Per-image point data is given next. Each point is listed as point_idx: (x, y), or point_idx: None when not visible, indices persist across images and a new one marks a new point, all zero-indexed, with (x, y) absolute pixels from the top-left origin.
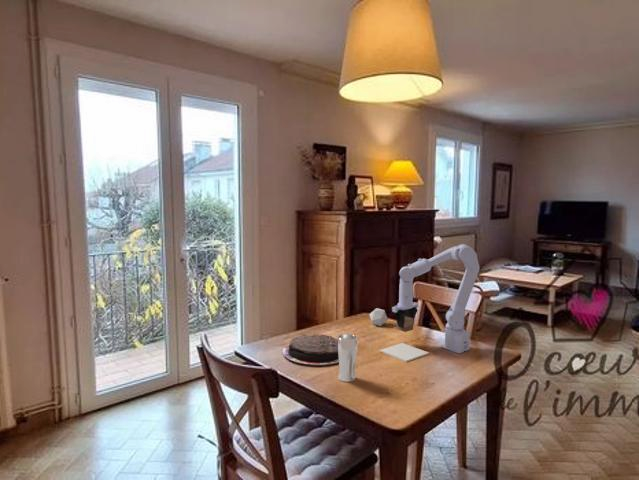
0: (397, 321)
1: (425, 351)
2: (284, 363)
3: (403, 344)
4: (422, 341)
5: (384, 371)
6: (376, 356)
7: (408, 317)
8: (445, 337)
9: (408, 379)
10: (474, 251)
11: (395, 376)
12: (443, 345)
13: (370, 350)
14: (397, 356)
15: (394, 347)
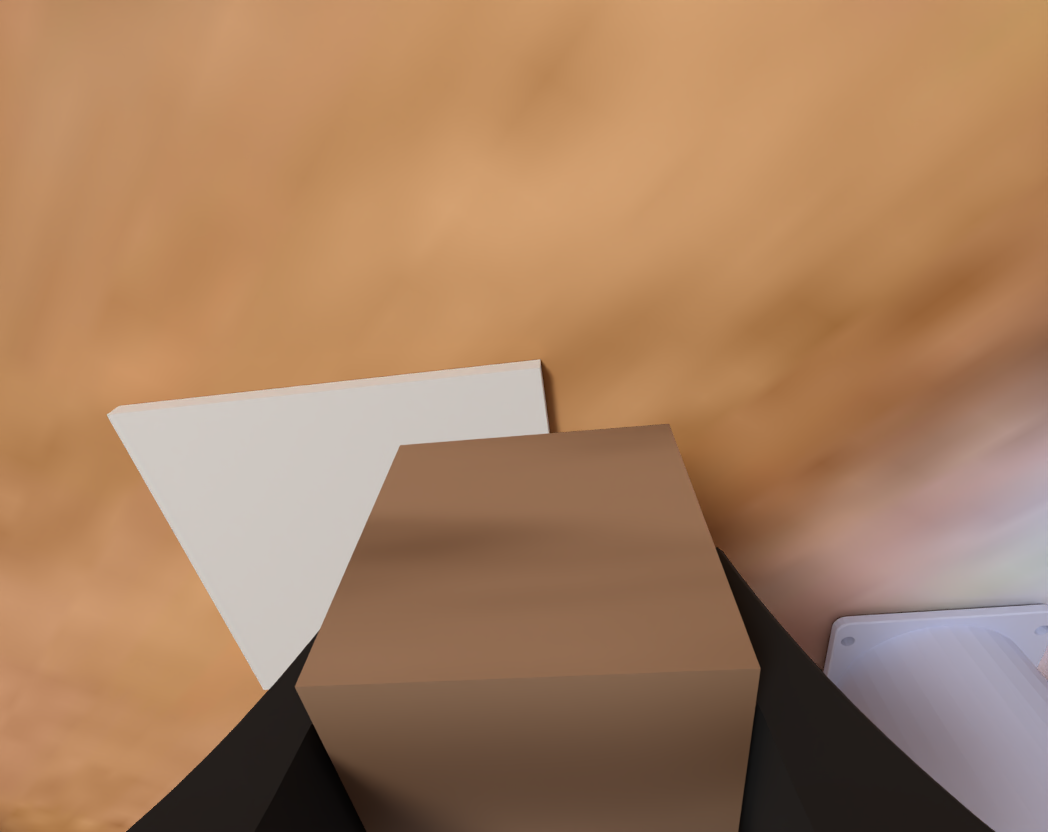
0: (291, 678)
1: None
2: None
3: (509, 418)
4: (868, 408)
5: (21, 703)
6: (34, 491)
7: (688, 811)
8: (919, 758)
9: (147, 808)
10: None
11: (78, 765)
12: (883, 632)
13: (4, 324)
14: (231, 612)
15: (333, 438)
